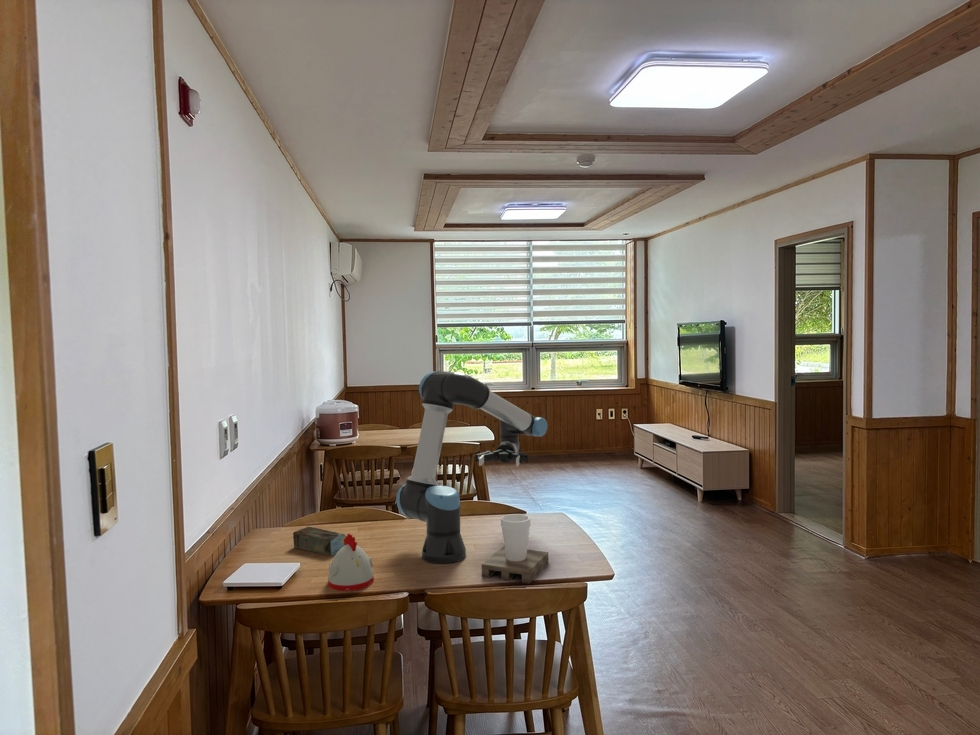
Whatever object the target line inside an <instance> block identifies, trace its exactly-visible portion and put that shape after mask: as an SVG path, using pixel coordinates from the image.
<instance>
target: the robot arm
mask: <svg viewBox="0 0 980 735" xmlns="http://www.w3.org/2000/svg"><path fill="white" fill-rule="evenodd" d="M418 392H419V393H418V394H420V398H421V399H422V403H421V406H422V407H423V409H424V414H423V418H422V423H421V428H420V433H419V438H418V443H417V447H416V454H415V457H414V462H413V467H412V472H411V475H409V476H408V477H406V479H405V480H406V481H405V484H403V485H402V486H401V487H400V488H399V490H397V493H396V501H395V502H396V506H397V508H398V510H399V512H400V513H401V514H402V515H404V516H406V517H408V518H409V519H415V520H418V521H421V522H423V523H424V522H425V524H426V536H425V539H424V543H423V547H422V549H421V559H422V560H424V561H426V562H428V563H431V564H451V563H456V562H459V561H461V560H463V559H465V558H466V555H467V552H466V551H467V549H466V545H465V543H464V539H463V537H462V534H461V500H460V493H459V491H458V490H457V489H456V488H453V487H451V486H449V485H448V486H447V485H439V483H438V482H437V480H436V476H437V472H438V466H439V460H440V457H441V456H440V455H441V451H442V446H443V442H444V435H445V430H446V426H447V420H448V415H449V414H450V413H451V412H453V411H454V406H455V405H462V406H467V407H470V408H472V409H473V410H479V409H480V410H482V411H483V412H485V413H487V414H489V415H491V416H492V417H494V418H496V419H499V433H500V439H499V440H500V444H499V445H498V447H496V450H493V451H491V450H486V451H484V452H480V453H477V454H476V453H475V454H474V461H475V462H478V466H479V467H481V466H482V465H483V464H484V463H485V462H488V461H499V462H501V463H503V464H507V463H511V462H513V461H515V466H516V467H519V465H520V464H523V463H529V455H528V454H526V453H525V452H523V451H521V450H520V446H521V445H520V441H519V439H520V438H519V437H520V436H519V435H522V436H524V435H525V436H531V437H532V436H533V437H539V438H541V437H543V436H545V434H547V430H548V422H547V420H546V419H545V418H544V417H541V416H540V417H539V416H535V415H532V414H531V413H529V412H527V411H525V410H523V408H522V409H521V407H518V406H516V405H515V404H514V403H511V402H510V401H508V400H506V399H505V398H503V397H501V396H499V395H498V394H496V393H494V392H493V391H491V390H490V388H489V386H488V385H486V384H484V383H483V382H481V381H479V380H478V379H476V378H474V377H472V376H471V375H468V374H466V373H463V372H460V371H447V370H445V371H443V370H437V371H429V373H426V374H425V375H424V376H423V377H422V379H421V380H420V382H419V386H418Z"/></svg>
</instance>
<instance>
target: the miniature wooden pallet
mask: <svg viewBox="0 0 980 735" xmlns="http://www.w3.org/2000/svg"><path fill="white" fill-rule="evenodd" d="M548 566H549V551H541V550H534V549H528V548H527V554H526V559H525V560H522V561H510V560H508V559H507V558H506V553H505V546H502V547H501V548H500V549H498V551H496V552H495V553H494V554H492V555H490V557H489V558H487V559H486V560H484V562H482V563H481V577H484V578H490V577H491V576H492V575H493V574H495V573H496V572H501V580H503V581H510V580H511V579H512V578H513V577H515V576H516V575H521V583H522V584H528V585H529V584H531V583H532V581H533V580H535V579H536V578H537V577H538V576H539V575H540V574H541V573H542V572H543V570H545V568H546V567H548Z"/></svg>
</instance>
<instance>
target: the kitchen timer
mask: <svg viewBox="0 0 980 735" xmlns="http://www.w3.org/2000/svg"><path fill="white" fill-rule="evenodd" d="M345 538H346V539H344V544H345V546H344V547H342V548H341V549H340V550H339V551H338V552H337V554H335V555H334V557H333V559H332V561H331V562H329V565H328V566H329V567H328V577H327V585H328V587H329V588H330V589H332V590H335V591H340V592H341V591H345V592H347V591H349V592H351V591H356V590H361V589H365V588H367V587H369V586H370V585H372V584H373V582H375V578H374V575H375V574H374V570H373V561H372V557H371V556H368V555H367V553H366V552H365V551H364V550H363V548H362V547H360V546H358V544H357V543H358V541H356V537H355V536H353V534H351V533H347V535H346V536H345Z"/></svg>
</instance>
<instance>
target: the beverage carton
mask: <svg viewBox="0 0 980 735" xmlns="http://www.w3.org/2000/svg"><path fill="white" fill-rule="evenodd" d="M292 535H293V536H292V537H293V538H292V539H293V548H295V549H299V550H304V551H308V552H312V553H317V554H322V555H327V556H329V557H330V556H331V557H332V556H335V555H336V554H337V552H338V551H339V550H340V549H341V548H342V547H344V546H345V544H344V539H346V538H345V536H347V535H346V534H344V533H339V532H336V531H331V530H327V529H321V528H317V527H313V526H309V525H308V526H306V527H304V528H301V529H298V530H296V531H293V534H292Z"/></svg>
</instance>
